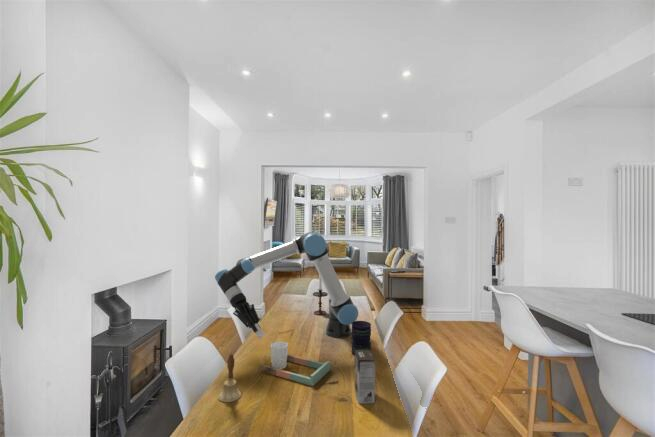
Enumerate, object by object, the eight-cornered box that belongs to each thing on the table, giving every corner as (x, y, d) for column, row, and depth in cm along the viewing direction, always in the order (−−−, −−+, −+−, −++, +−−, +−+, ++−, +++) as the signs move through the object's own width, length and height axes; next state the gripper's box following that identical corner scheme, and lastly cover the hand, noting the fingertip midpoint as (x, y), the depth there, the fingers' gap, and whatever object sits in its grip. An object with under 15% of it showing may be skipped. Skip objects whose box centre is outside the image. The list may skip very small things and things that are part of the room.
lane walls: (261, 371, 138) (261, 365, 138) (281, 358, 152) (281, 352, 152) (276, 375, 134) (276, 369, 134) (295, 361, 148) (295, 356, 148)
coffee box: (353, 390, 123) (354, 349, 123) (369, 390, 123) (370, 349, 124) (358, 404, 114) (358, 359, 114) (375, 403, 114) (375, 359, 115)
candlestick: (325, 316, 219) (326, 266, 220) (310, 315, 222) (311, 265, 222) (328, 311, 230) (329, 264, 230) (314, 310, 232) (315, 263, 233)
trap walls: (276, 375, 134) (276, 369, 134) (295, 361, 148) (295, 356, 148) (289, 379, 131) (289, 373, 131) (308, 364, 145) (308, 359, 145)
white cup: (273, 371, 138) (273, 349, 138) (268, 364, 145) (268, 343, 145) (290, 368, 141) (290, 346, 141) (284, 361, 148) (284, 340, 148)
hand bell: (242, 389, 123) (242, 349, 123) (240, 401, 115) (240, 358, 115) (220, 391, 121) (220, 350, 122) (216, 403, 113) (217, 359, 113)
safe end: (289, 379, 131) (289, 370, 131) (308, 364, 145) (308, 356, 145) (312, 386, 126) (312, 376, 126) (329, 370, 140) (329, 361, 140)
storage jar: (359, 347, 165) (360, 319, 165) (374, 353, 158) (375, 323, 158) (347, 353, 158) (347, 323, 158) (362, 359, 151) (362, 328, 151)
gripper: (241, 298, 162) (265, 336, 154) (222, 304, 151) (248, 345, 143) (249, 289, 160) (274, 327, 152) (230, 294, 148) (257, 336, 140)
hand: (261, 336), depth 147 cm, fingers closed
